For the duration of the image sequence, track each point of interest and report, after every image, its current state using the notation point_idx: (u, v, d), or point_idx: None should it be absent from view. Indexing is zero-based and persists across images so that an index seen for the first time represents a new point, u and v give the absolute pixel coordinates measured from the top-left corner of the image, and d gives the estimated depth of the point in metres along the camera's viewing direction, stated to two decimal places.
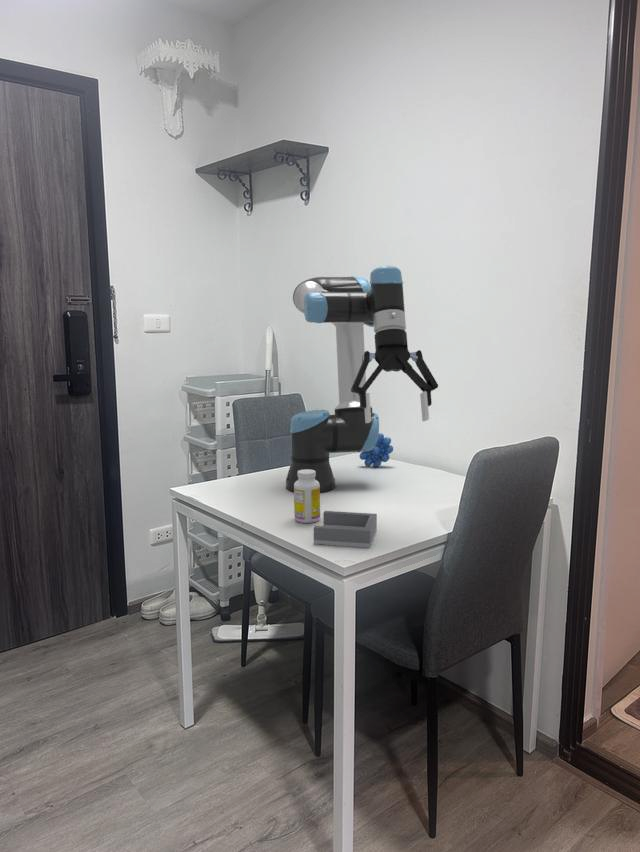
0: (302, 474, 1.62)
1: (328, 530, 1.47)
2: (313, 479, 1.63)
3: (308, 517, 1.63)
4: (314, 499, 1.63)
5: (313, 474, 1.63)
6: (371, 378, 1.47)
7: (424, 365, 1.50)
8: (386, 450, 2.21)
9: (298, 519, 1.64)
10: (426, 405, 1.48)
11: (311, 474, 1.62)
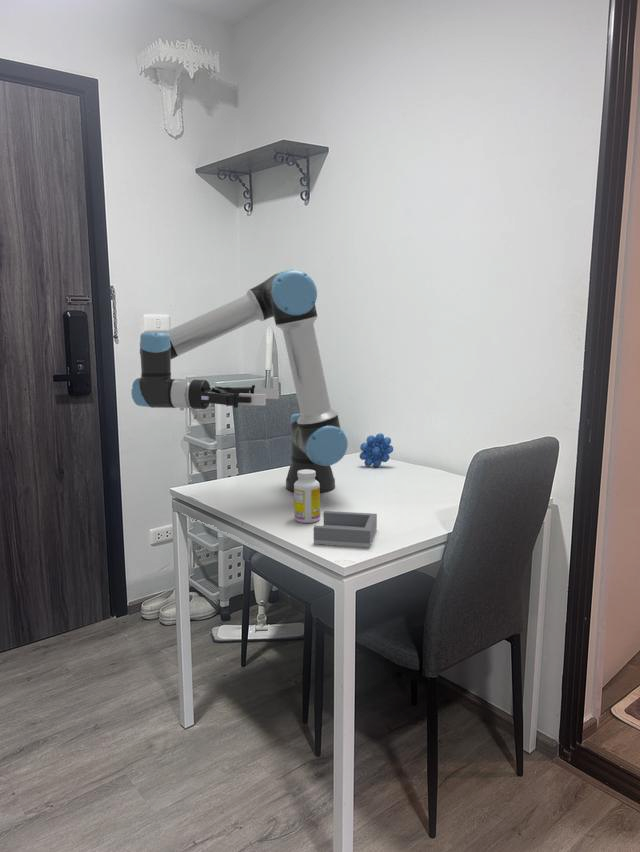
0: (302, 474, 1.62)
1: (328, 530, 1.47)
2: (313, 479, 1.63)
3: (308, 517, 1.63)
4: (314, 499, 1.63)
5: (313, 474, 1.63)
6: None
7: None
8: (386, 450, 2.21)
9: (298, 519, 1.64)
10: None
11: (311, 474, 1.62)
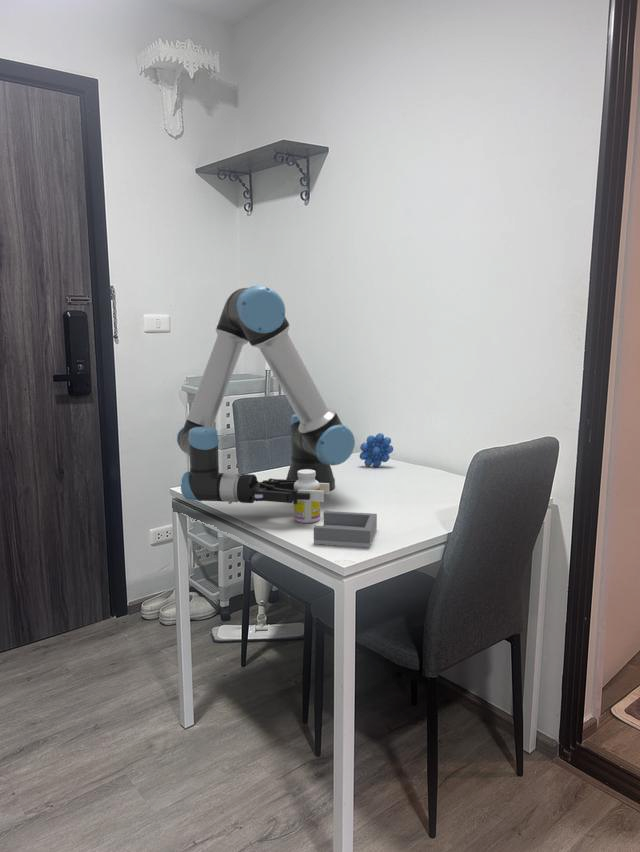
0: (302, 474, 1.62)
1: (328, 530, 1.47)
2: (313, 479, 1.63)
3: (308, 517, 1.63)
4: None
5: (313, 474, 1.63)
6: None
7: None
8: (386, 450, 2.21)
9: (298, 519, 1.64)
10: None
11: (311, 474, 1.62)
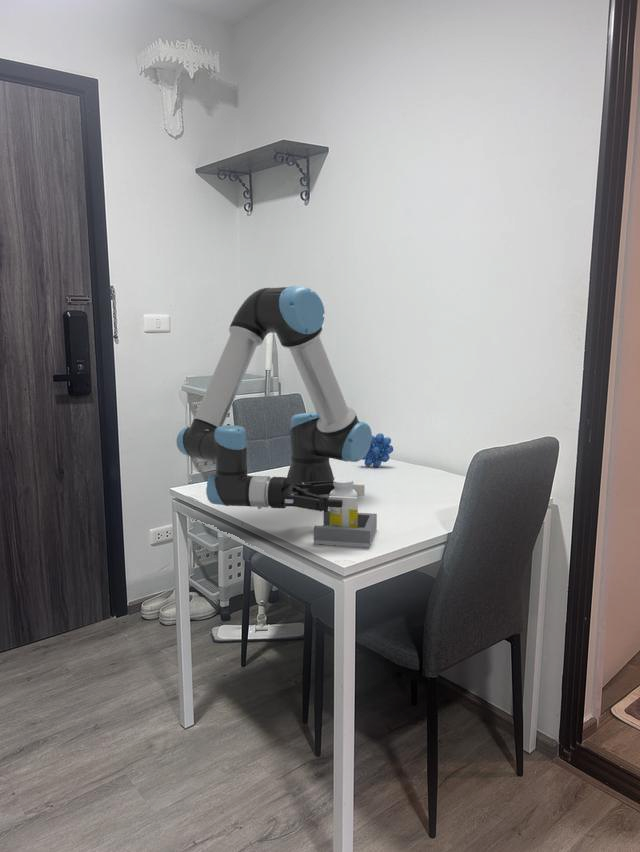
0: (339, 483, 1.49)
1: (328, 530, 1.47)
2: (351, 488, 1.50)
3: None
4: (352, 510, 1.50)
5: (351, 483, 1.50)
6: None
7: None
8: (386, 450, 2.21)
9: None
10: None
11: (349, 483, 1.49)
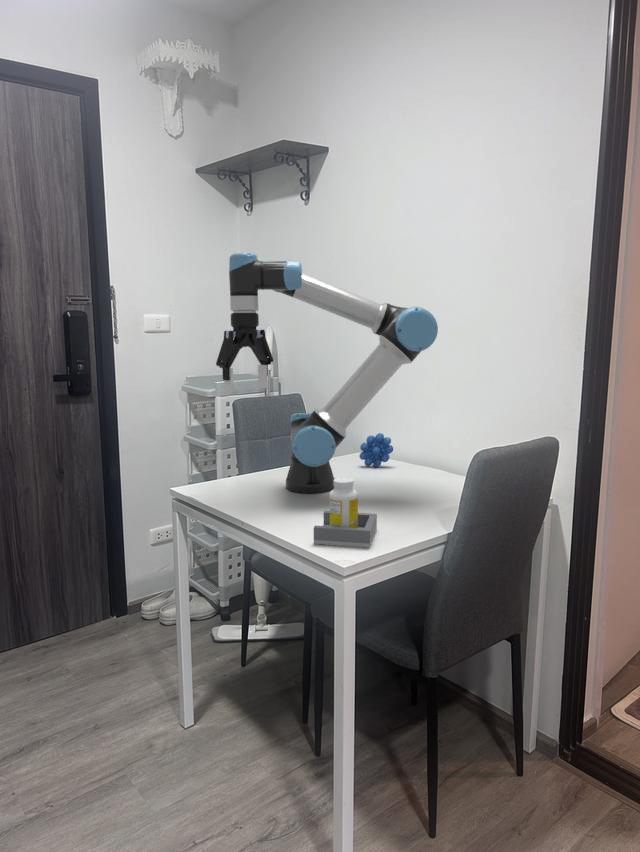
0: (340, 483, 1.49)
1: (328, 530, 1.47)
2: (351, 488, 1.50)
3: None
4: (352, 510, 1.50)
5: (351, 483, 1.50)
6: None
7: None
8: (386, 450, 2.21)
9: None
10: None
11: (349, 483, 1.49)
